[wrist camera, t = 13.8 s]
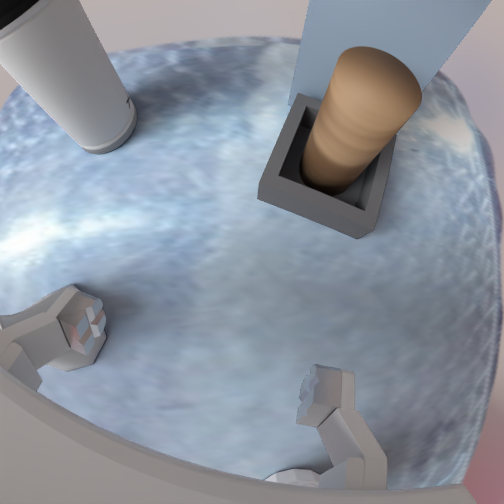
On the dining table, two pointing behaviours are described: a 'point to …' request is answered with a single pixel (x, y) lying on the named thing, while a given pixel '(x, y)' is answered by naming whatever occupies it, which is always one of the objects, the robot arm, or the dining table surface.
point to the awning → (380, 36)
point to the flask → (71, 357)
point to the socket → (314, 202)
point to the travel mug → (66, 71)
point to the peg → (357, 117)
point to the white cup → (296, 477)
